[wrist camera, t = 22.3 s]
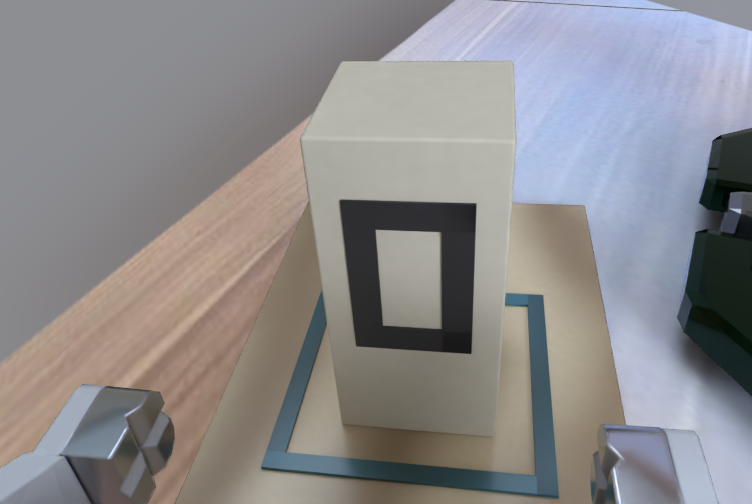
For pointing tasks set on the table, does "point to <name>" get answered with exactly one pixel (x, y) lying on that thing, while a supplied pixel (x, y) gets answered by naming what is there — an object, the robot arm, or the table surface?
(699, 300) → the four-lobed dark green device
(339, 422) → the word board
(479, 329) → the letter block
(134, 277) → the table surface
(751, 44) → the table surface
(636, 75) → the table surface
